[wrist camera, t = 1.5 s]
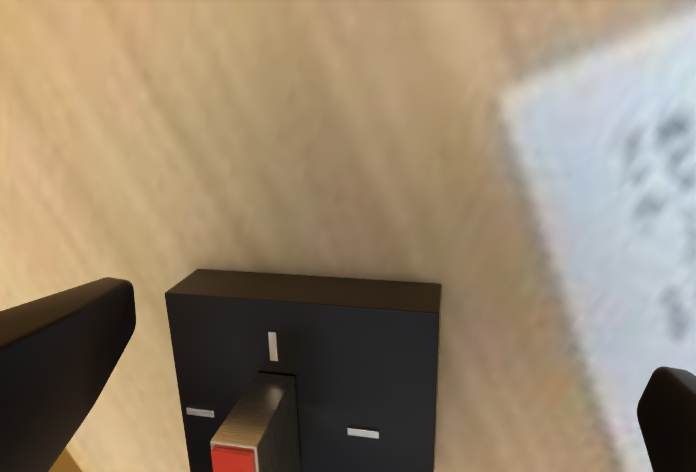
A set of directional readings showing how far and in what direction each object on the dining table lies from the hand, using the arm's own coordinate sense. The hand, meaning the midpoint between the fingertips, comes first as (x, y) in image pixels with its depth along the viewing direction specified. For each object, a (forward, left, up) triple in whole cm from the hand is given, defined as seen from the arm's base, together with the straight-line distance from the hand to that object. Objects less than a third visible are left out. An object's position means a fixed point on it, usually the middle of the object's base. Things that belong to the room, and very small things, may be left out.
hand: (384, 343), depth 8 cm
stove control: (-9, +5, -13) cm, 17 cm away
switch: (-10, +6, -10) cm, 16 cm away
